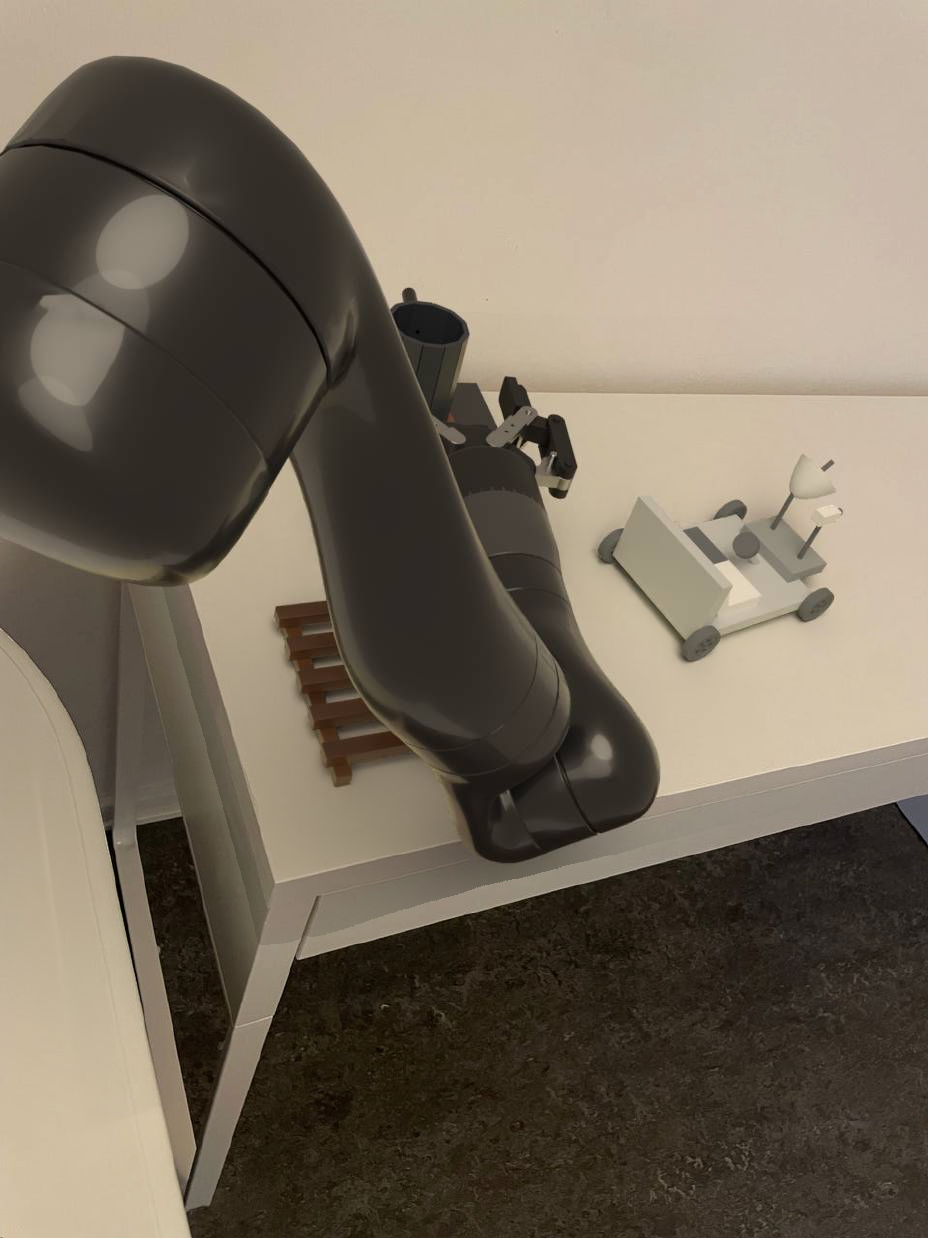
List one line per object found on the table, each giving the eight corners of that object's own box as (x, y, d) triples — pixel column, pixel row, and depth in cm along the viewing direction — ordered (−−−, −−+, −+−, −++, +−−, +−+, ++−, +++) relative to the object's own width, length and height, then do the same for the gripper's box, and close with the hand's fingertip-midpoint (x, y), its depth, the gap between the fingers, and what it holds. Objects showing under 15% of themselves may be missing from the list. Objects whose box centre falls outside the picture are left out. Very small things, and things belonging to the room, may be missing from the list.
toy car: (804, 425, 83) (908, 519, 77) (753, 516, 90) (845, 609, 84) (634, 461, 74) (736, 570, 68) (592, 559, 81) (681, 666, 75)
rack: (269, 617, 69) (271, 596, 68) (394, 602, 73) (399, 582, 72) (326, 789, 61) (330, 770, 60) (464, 762, 65) (471, 744, 63)
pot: (449, 446, 84) (475, 350, 78) (372, 439, 82) (392, 342, 76) (429, 360, 92) (450, 268, 86) (359, 353, 90) (375, 258, 84)
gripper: (620, 501, 61) (558, 344, 71) (381, 485, 57) (354, 321, 67) (581, 590, 66) (529, 432, 76) (360, 580, 62) (338, 415, 72)
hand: (447, 380), depth 72 cm, fingers open, 8 cm apart
